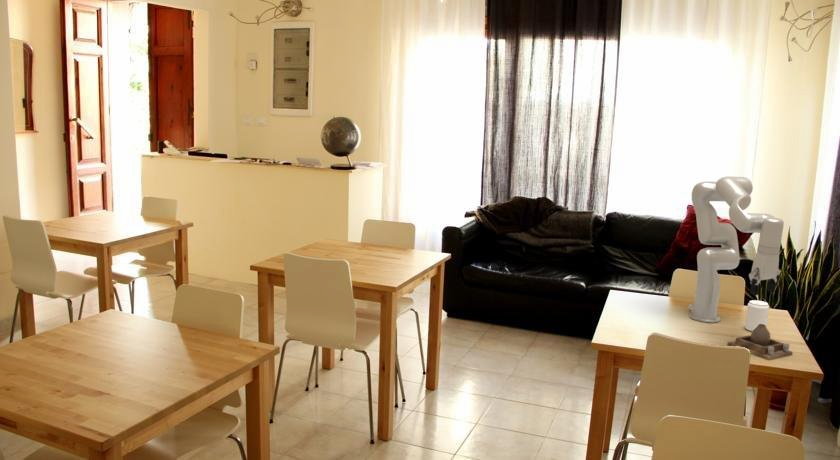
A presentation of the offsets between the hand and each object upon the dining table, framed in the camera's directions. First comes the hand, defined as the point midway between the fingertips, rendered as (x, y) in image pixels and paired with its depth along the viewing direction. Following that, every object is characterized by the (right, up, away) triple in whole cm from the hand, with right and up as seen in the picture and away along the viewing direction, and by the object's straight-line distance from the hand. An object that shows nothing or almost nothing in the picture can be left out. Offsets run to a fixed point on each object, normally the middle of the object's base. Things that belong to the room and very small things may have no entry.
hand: (762, 293), depth 281 cm
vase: (-1, -21, -1) cm, 21 cm away
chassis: (-1, -22, -1) cm, 22 cm away
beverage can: (+8, -18, +24) cm, 31 cm away
